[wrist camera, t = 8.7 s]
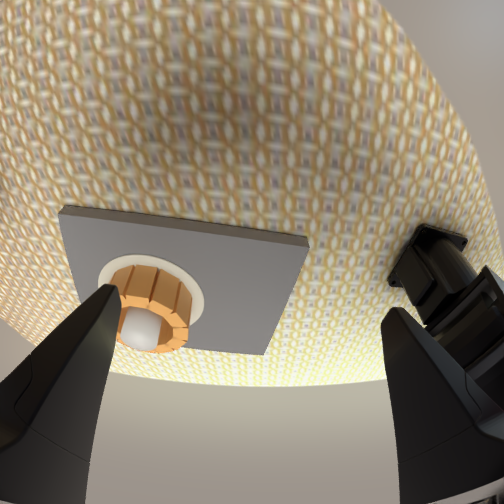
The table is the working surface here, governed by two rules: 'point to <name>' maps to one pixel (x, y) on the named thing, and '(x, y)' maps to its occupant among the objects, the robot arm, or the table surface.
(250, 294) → the post board
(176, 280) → the orange ring
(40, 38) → the table surface
